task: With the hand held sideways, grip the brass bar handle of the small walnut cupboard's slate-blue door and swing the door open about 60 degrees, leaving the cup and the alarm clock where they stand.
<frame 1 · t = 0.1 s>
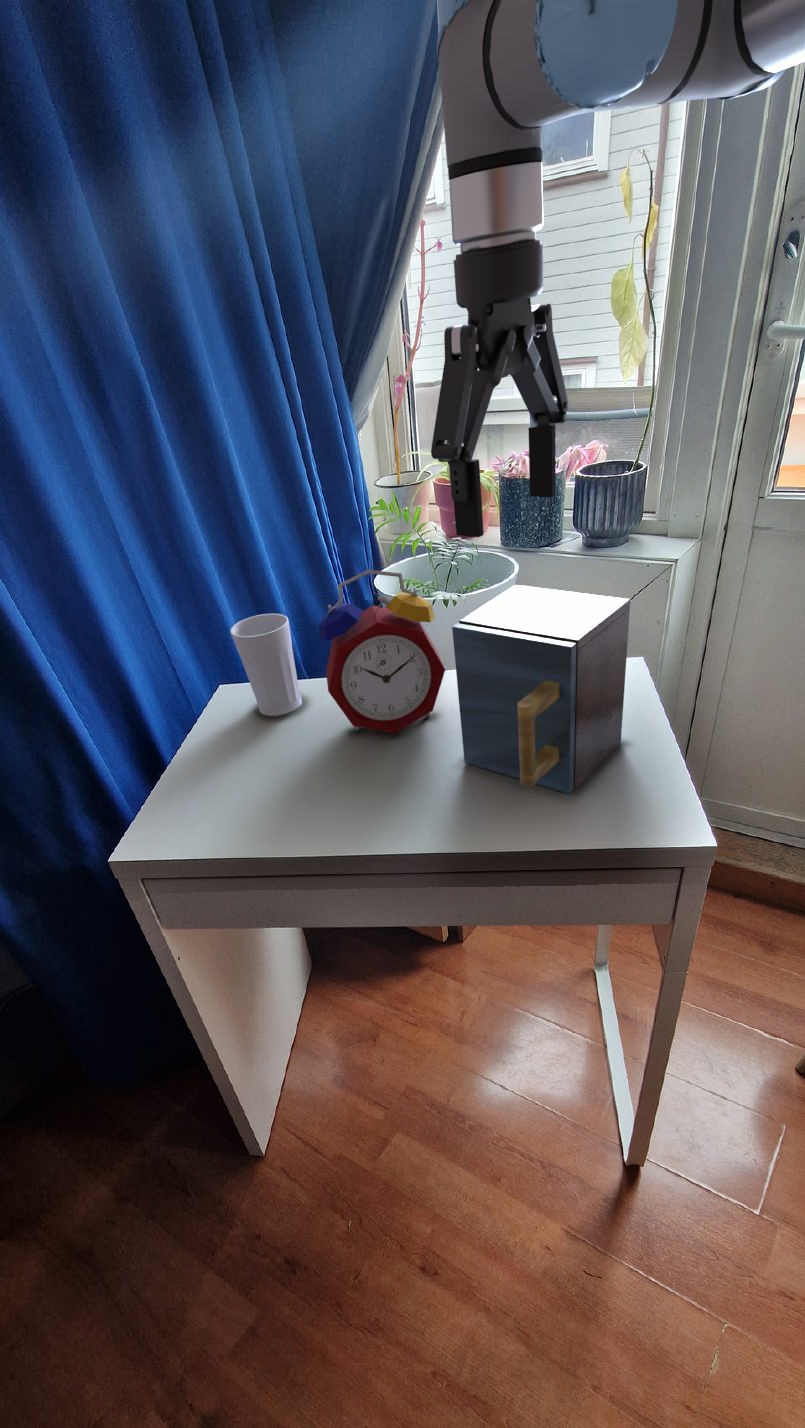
hand: (508, 515, 74), 25 cm above the table, tool pointing down, fingers open, 13 cm apart
cupboard: (545, 750, 86), on the table
door: (499, 722, 76), point 9 cm above the table, hinge at 0.0°
cup: (280, 706, 105), on the table
alarm clock: (391, 720, 97), on the table
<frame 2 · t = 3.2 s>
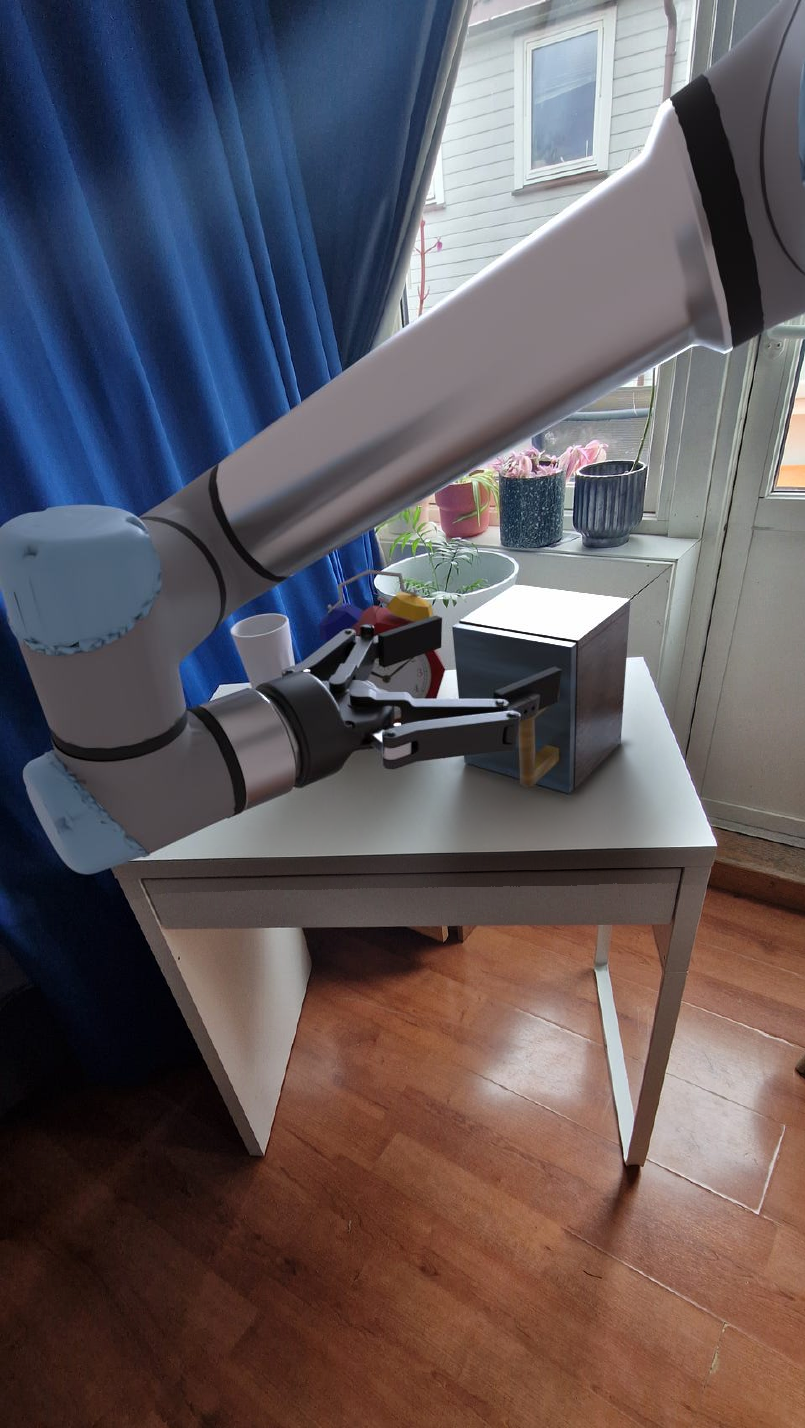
hand: (493, 656, 60), 21 cm above the table, tool horizontal, fingers open, 13 cm apart
nothing on the table moved.
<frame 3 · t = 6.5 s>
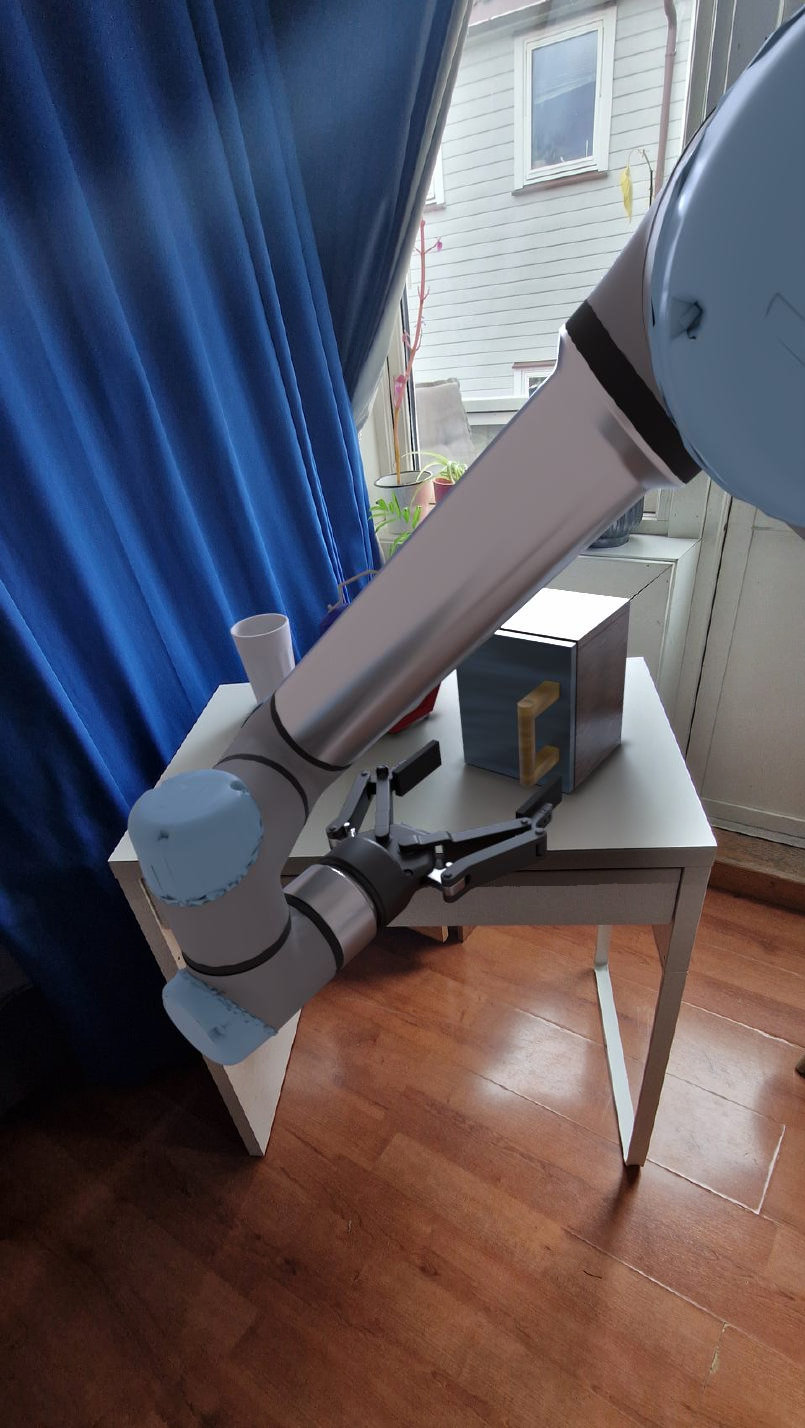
hand: (494, 768, 68), 9 cm above the table, tool horizontal, fingers open, 13 cm apart
nothing on the table moved.
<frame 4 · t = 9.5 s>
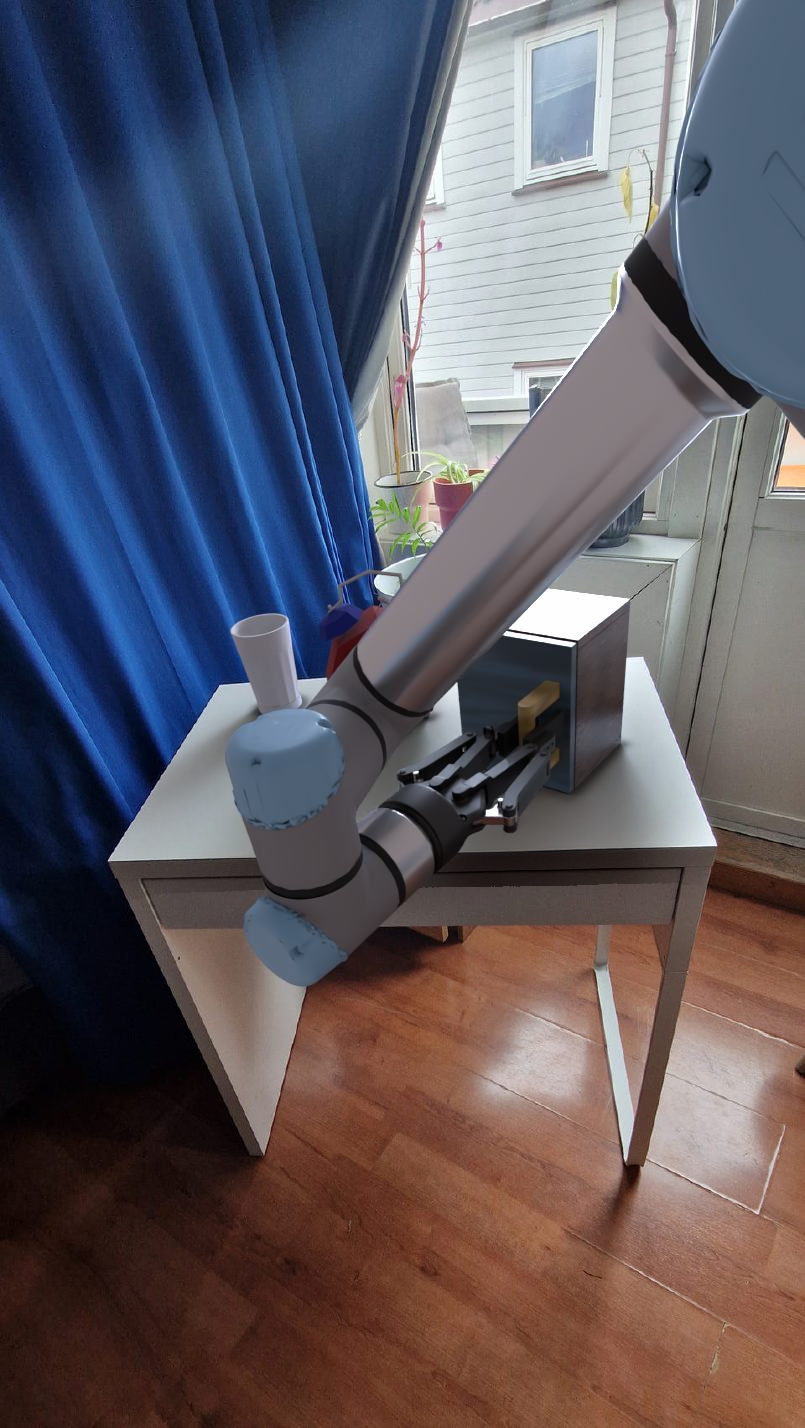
hand: (547, 718, 74), 9 cm above the table, tool horizontal, fingers open, 2 cm apart
door: (499, 721, 76), point 8 cm above the table, hinge at -0.2°, touching gripper
everything else where it was.
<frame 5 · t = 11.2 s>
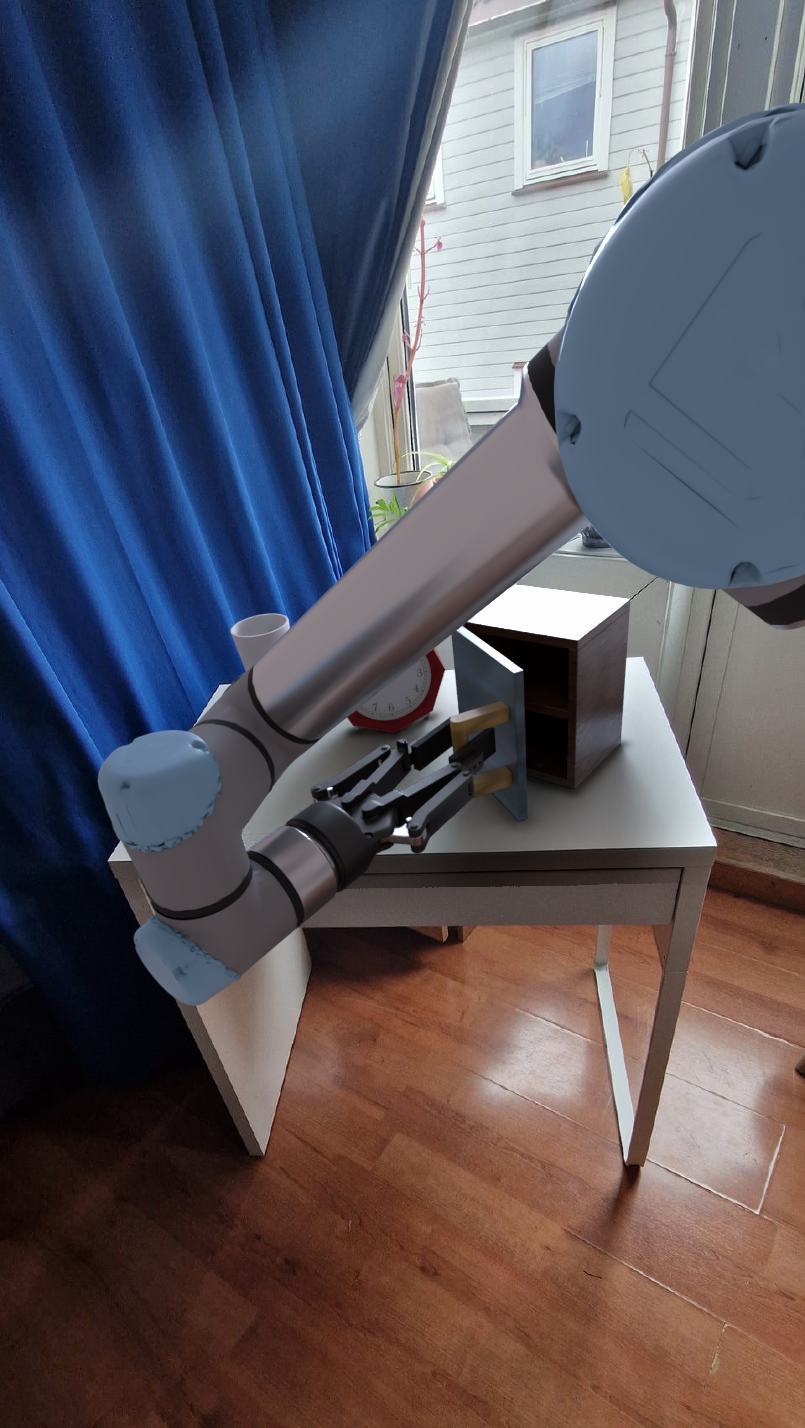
hand: (472, 734, 73), 9 cm above the table, tool horizontal, fingers open, 4 cm apart
door: (464, 730, 75), point 9 cm above the table, hinge at 29.4°, touching gripper
everything else where it was.
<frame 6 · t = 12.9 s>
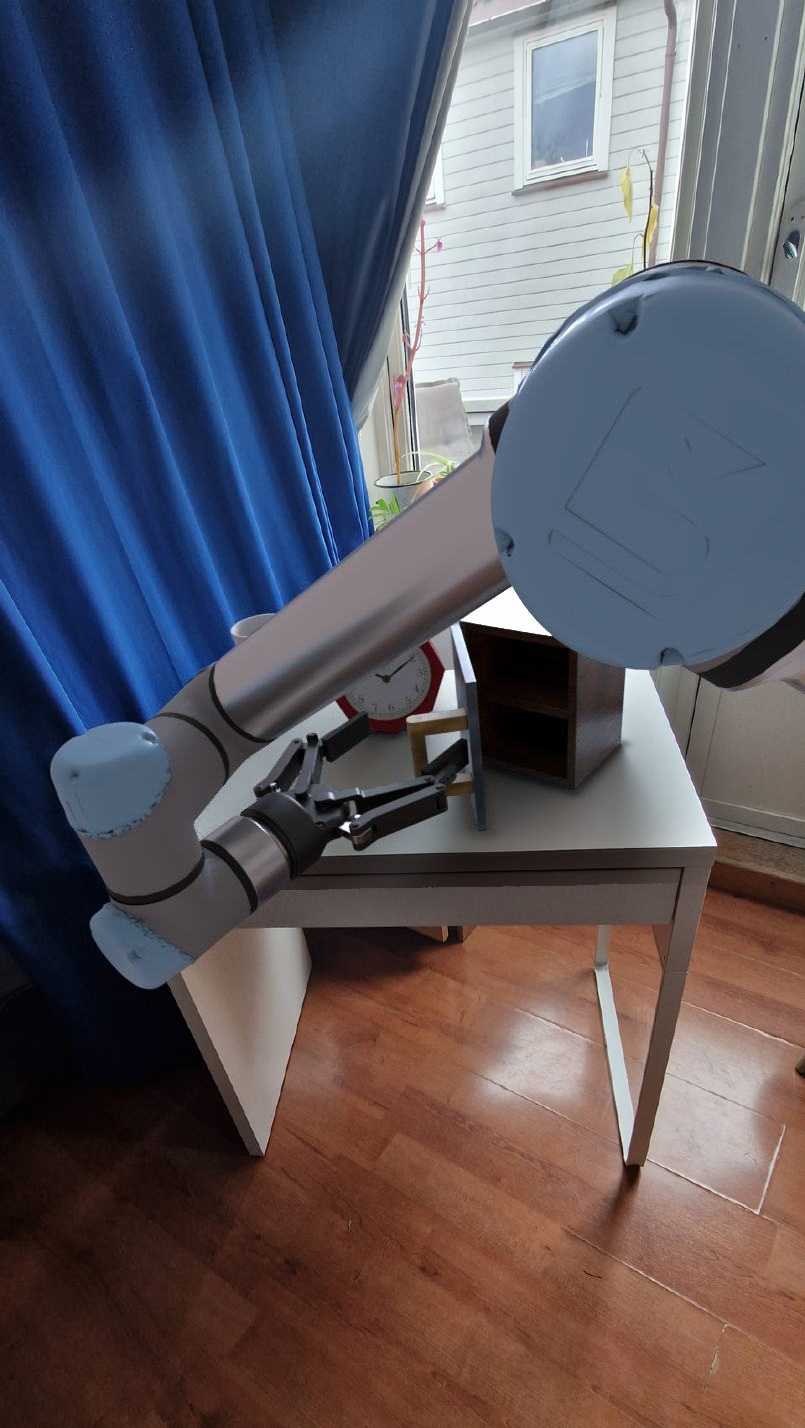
hand: (414, 736, 75), 9 cm above the table, tool horizontal, fingers open, 12 cm apart
door: (441, 731, 76), point 8 cm above the table, hinge at 48.0°, touching gripper
everything else where it was.
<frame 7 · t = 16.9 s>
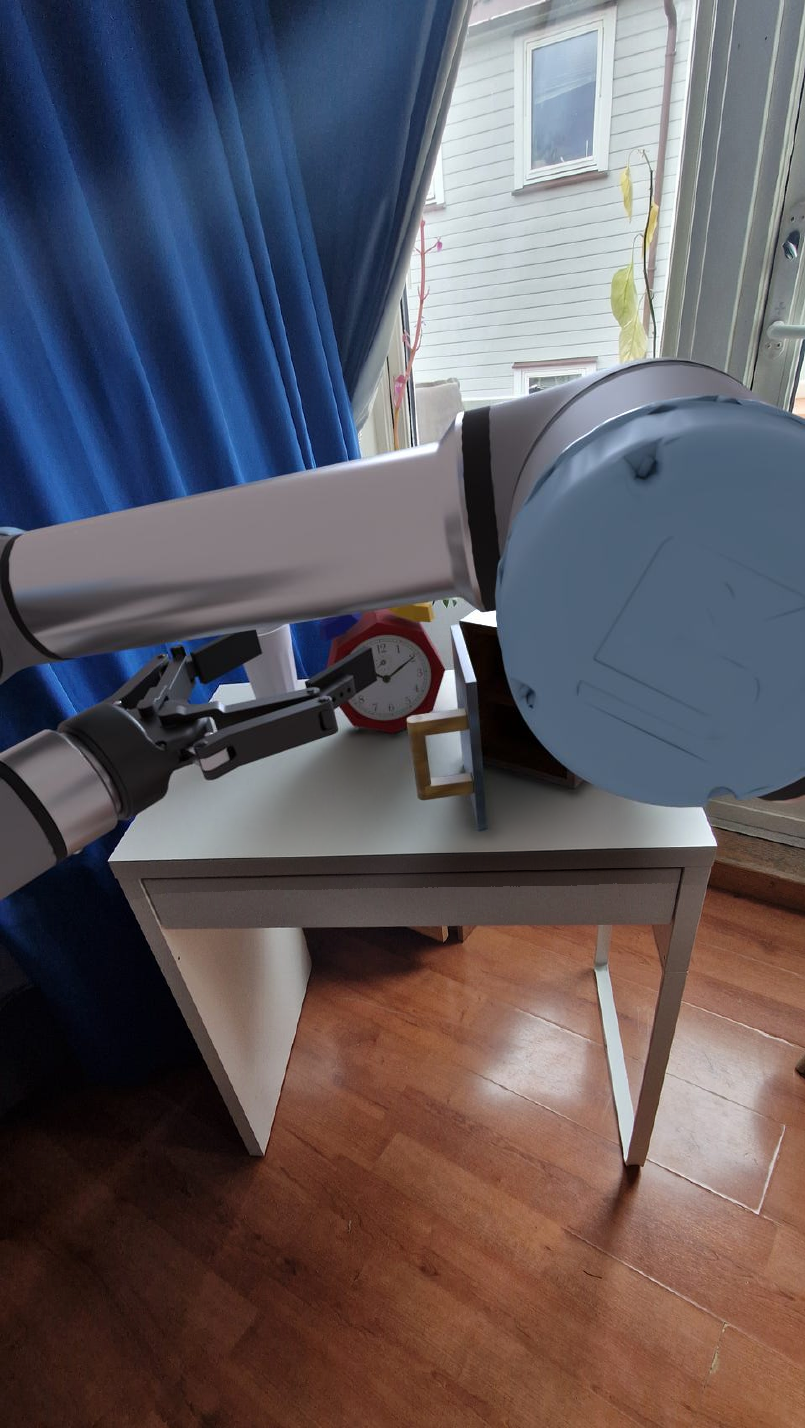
hand: (310, 649, 59), 23 cm above the table, tool horizontal, fingers open, 13 cm apart
door: (441, 731, 76), point 8 cm above the table, hinge at 47.9°
everything else where it was.
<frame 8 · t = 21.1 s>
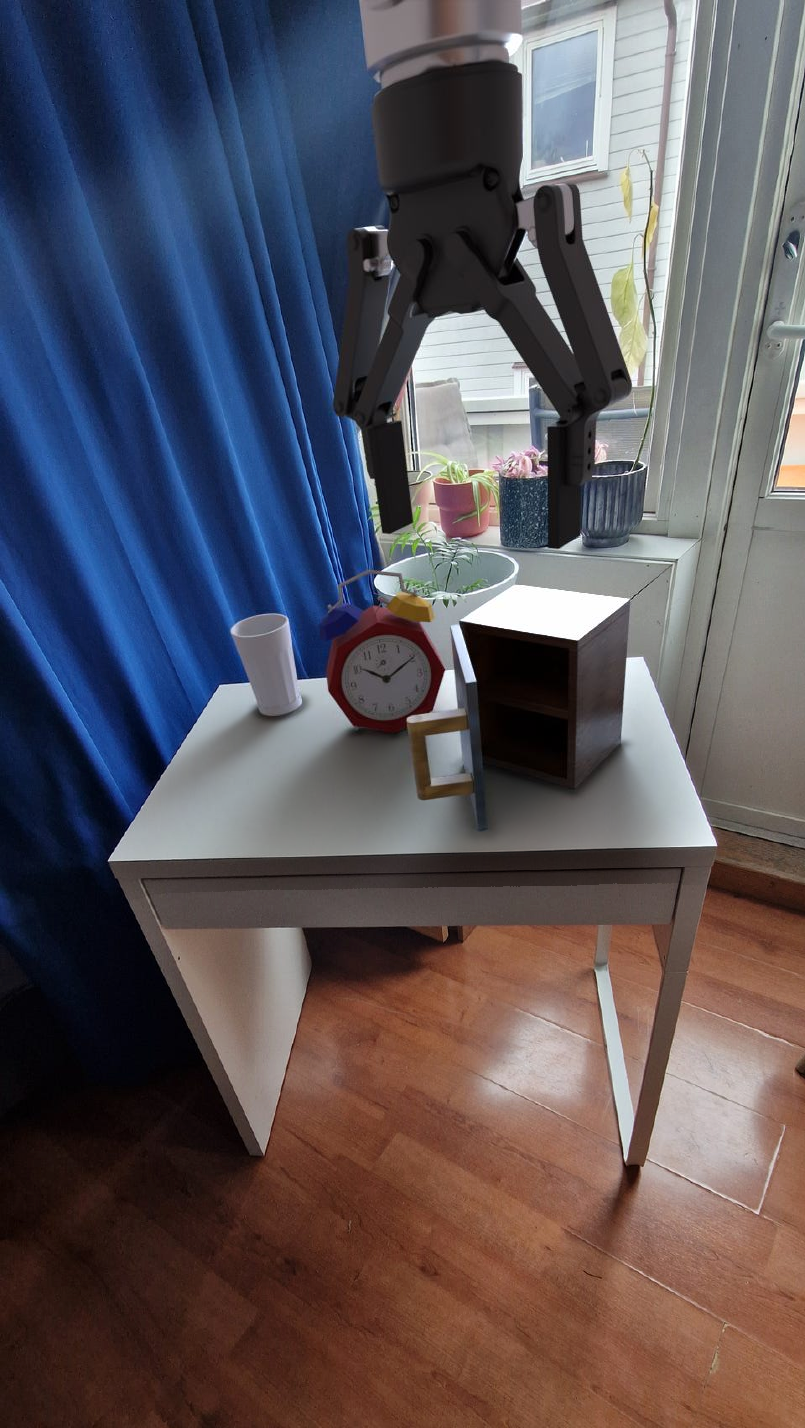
hand: (474, 535, 49), 32 cm above the table, tool pointing down, fingers open, 13 cm apart
nothing on the table moved.
at the end: door at +48° (first picture: +0°); alarm clock moved 0.2 cm from its start; cup moved 0.2 cm from its start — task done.
